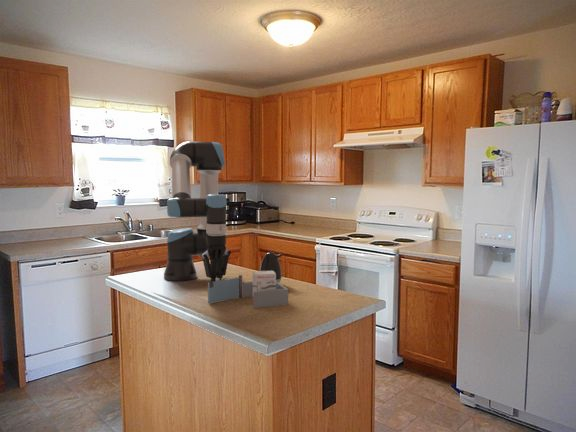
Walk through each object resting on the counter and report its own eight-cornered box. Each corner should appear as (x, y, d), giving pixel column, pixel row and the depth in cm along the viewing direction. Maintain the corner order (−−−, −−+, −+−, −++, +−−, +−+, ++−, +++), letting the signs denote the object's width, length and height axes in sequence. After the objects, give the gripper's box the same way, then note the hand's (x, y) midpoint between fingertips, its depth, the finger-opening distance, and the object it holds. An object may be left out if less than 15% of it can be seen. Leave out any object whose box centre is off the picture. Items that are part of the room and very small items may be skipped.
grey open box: (238, 297, 169) (238, 275, 169) (273, 293, 175) (273, 272, 174) (249, 308, 154) (249, 284, 154) (288, 304, 160) (288, 281, 159)
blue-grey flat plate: (237, 296, 169) (237, 277, 168) (238, 297, 168) (238, 277, 167) (207, 302, 160) (207, 282, 160) (209, 303, 159) (209, 282, 159)
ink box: (253, 304, 160) (254, 274, 159) (252, 301, 164) (252, 271, 163) (276, 303, 162) (276, 273, 160) (273, 299, 166) (274, 270, 165)
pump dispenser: (279, 288, 183) (279, 254, 182) (256, 287, 185) (256, 253, 184) (284, 283, 193) (284, 250, 192) (262, 281, 195) (262, 249, 194)
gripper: (207, 237, 155) (207, 299, 157) (235, 234, 164) (235, 293, 166) (196, 234, 160) (196, 295, 162) (224, 232, 169) (223, 289, 171)
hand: (215, 294), depth 164 cm, fingers closed
